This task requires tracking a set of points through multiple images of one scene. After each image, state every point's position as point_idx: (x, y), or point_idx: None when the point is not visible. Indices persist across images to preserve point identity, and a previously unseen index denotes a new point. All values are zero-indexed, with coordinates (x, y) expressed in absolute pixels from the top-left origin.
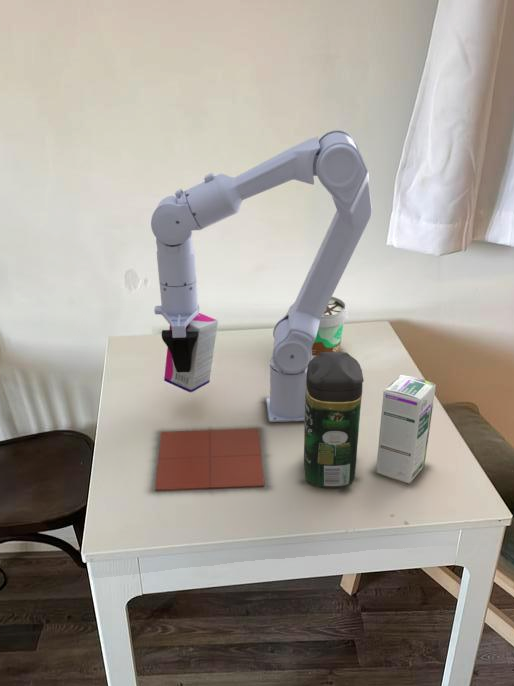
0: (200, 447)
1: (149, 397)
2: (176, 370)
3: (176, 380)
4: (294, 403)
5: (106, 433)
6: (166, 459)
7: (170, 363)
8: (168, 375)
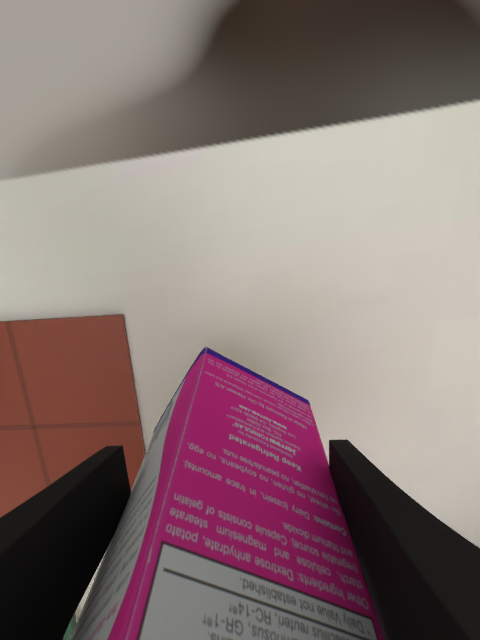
0: (66, 407)
1: (309, 258)
2: (99, 450)
3: (171, 402)
4: None
5: (109, 166)
6: (7, 340)
7: (174, 418)
8: (189, 376)
